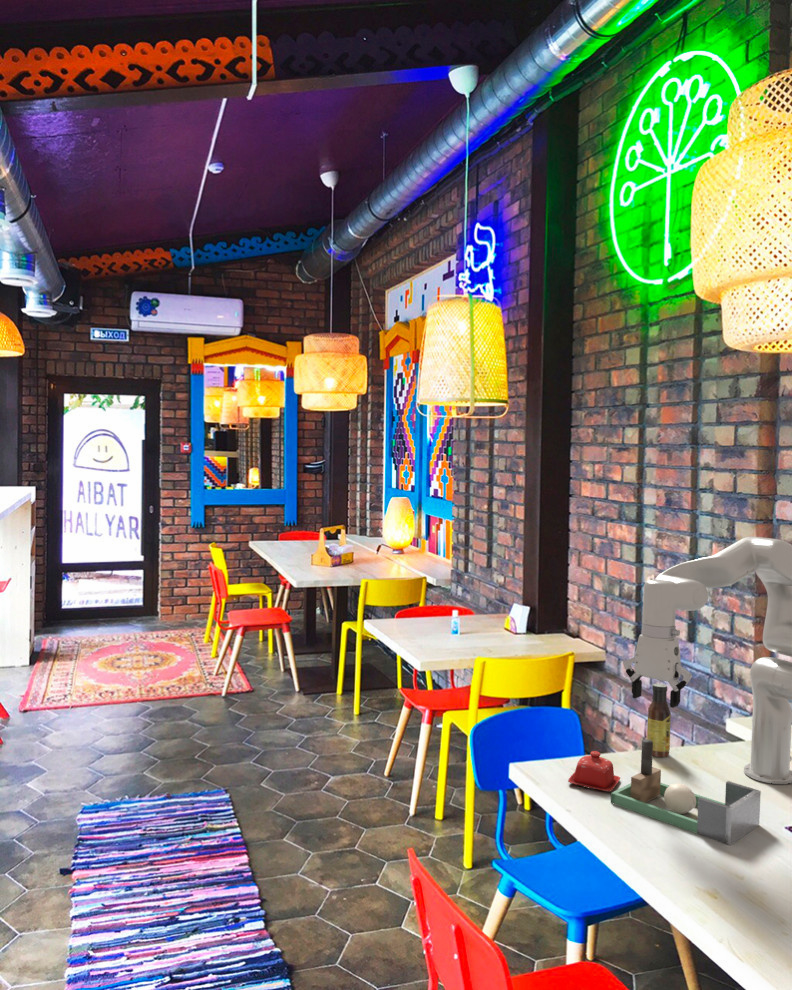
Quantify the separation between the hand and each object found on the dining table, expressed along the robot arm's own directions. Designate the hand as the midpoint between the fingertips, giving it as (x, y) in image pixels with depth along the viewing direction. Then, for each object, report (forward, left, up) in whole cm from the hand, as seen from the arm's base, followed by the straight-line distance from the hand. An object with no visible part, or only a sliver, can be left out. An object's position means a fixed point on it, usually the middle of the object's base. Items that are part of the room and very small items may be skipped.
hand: (655, 701), depth 200 cm
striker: (-1, -2, -25) cm, 25 cm away
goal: (-1, +19, -25) cm, 32 cm away
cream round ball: (-1, +7, -26) cm, 27 cm away
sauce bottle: (-33, -16, -26) cm, 45 cm away
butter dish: (-1, -17, -26) cm, 31 cm away
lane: (-1, +4, -25) cm, 26 cm away
